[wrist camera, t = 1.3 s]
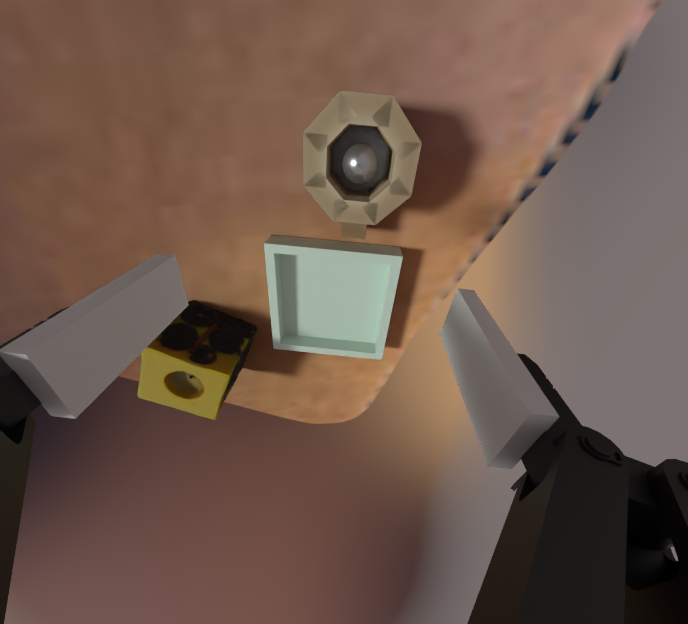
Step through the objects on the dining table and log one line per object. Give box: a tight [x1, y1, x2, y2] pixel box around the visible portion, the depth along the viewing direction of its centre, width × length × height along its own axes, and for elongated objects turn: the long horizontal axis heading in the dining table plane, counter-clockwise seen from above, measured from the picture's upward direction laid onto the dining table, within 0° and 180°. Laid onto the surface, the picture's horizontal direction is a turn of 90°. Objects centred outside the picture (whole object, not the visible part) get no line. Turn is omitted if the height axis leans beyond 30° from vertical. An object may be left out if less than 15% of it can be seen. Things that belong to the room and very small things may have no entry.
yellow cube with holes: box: [138, 301, 257, 420], centre depth 37 cm, size 10×10×10 cm
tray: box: [264, 235, 403, 360], centre depth 34 cm, size 15×15×3 cm
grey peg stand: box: [332, 126, 390, 192], centre depth 24 cm, size 6×6×6 cm
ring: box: [303, 91, 422, 239], centre depth 24 cm, size 11×9×5 cm
